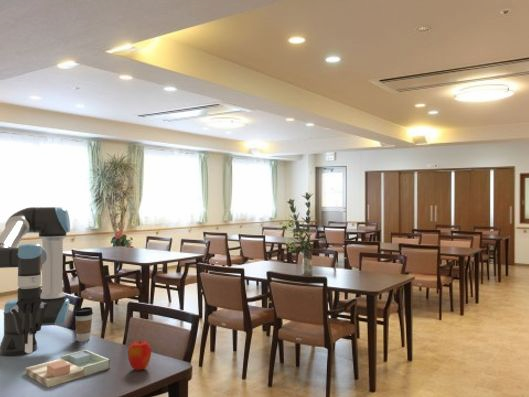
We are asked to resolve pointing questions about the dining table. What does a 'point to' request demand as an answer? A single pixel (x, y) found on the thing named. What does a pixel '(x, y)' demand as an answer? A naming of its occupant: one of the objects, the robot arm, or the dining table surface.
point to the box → (91, 362)
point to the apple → (139, 355)
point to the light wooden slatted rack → (48, 380)
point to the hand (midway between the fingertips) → (28, 352)
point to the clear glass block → (79, 358)
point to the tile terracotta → (58, 368)
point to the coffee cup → (83, 323)
